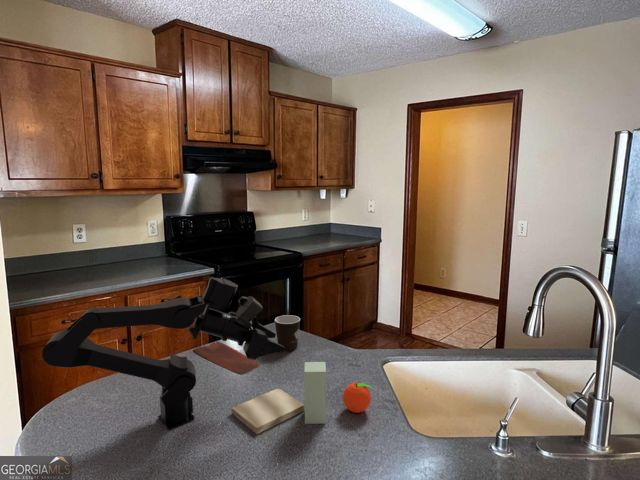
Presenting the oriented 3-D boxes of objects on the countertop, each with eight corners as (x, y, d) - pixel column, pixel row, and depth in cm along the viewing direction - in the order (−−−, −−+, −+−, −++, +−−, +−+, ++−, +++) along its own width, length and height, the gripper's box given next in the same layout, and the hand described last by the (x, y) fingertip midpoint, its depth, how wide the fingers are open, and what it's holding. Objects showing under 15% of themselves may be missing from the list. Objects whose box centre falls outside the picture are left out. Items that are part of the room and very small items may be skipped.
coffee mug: (285, 355, 132) (285, 325, 131) (270, 347, 139) (269, 319, 137) (312, 345, 140) (312, 317, 139) (296, 338, 147) (296, 311, 145)
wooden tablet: (191, 352, 136) (191, 347, 136) (217, 343, 143) (216, 339, 143) (238, 378, 118) (238, 373, 118) (265, 367, 125) (265, 362, 125)
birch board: (257, 434, 91) (257, 428, 91) (232, 413, 99) (231, 407, 99) (304, 410, 101) (304, 404, 100) (278, 393, 109) (277, 388, 109)
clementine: (370, 401, 105) (370, 375, 104) (378, 416, 98) (378, 389, 97) (340, 404, 104) (340, 378, 103) (345, 419, 97) (346, 392, 96)
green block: (304, 423, 95) (304, 371, 93) (305, 411, 100) (304, 362, 98) (326, 423, 95) (326, 371, 93) (325, 411, 100) (325, 361, 98)
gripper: (240, 305, 89) (302, 325, 95) (229, 284, 106) (282, 302, 112) (220, 351, 89) (284, 369, 95) (213, 323, 106) (267, 339, 112)
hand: (279, 342), depth 103 cm, fingers open, 9 cm apart
